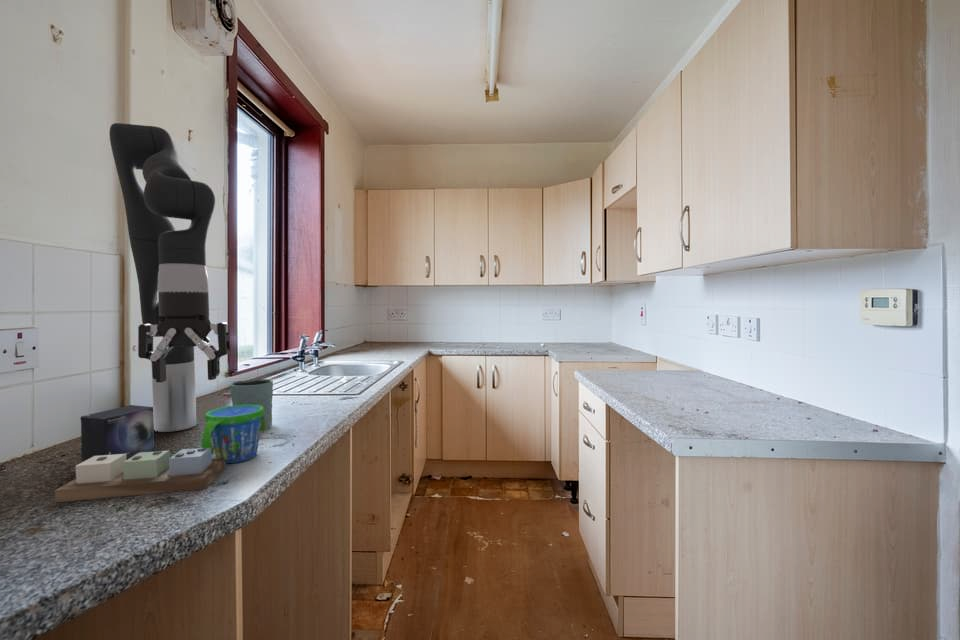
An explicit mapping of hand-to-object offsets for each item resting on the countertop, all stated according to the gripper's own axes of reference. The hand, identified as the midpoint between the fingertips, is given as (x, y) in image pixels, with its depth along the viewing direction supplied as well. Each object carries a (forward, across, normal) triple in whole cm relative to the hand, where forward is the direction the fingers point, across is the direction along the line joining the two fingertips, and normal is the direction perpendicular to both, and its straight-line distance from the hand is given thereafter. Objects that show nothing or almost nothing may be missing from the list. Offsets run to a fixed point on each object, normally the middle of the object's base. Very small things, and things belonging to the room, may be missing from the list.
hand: (186, 380), depth 80 cm
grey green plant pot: (+18, -1, -35) cm, 40 cm away
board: (+18, +7, 0) cm, 20 cm away
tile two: (+17, +7, 0) cm, 18 cm away
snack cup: (+19, -4, -11) cm, 22 cm away
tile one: (+17, +14, 0) cm, 22 cm away
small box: (+19, +19, -15) cm, 31 cm away
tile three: (+17, 0, 0) cm, 17 cm away
